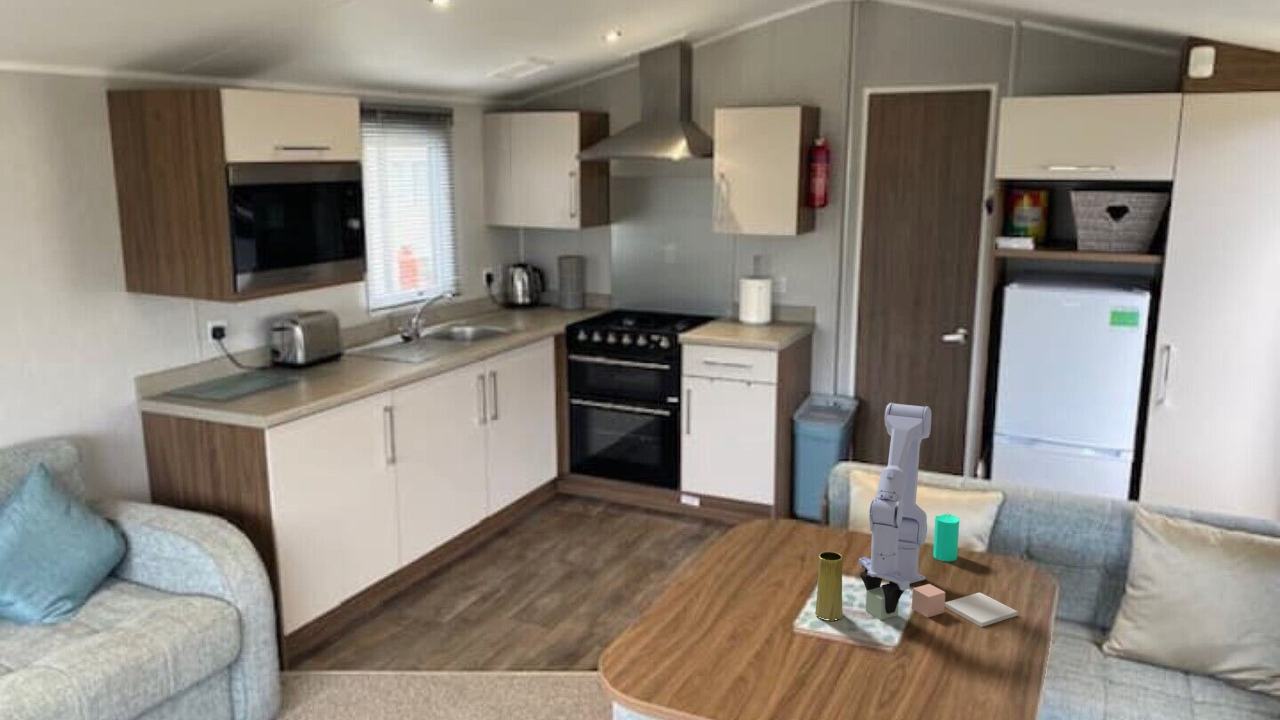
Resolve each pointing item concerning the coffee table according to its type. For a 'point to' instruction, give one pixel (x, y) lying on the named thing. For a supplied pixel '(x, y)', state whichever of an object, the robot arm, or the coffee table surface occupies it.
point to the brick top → (928, 600)
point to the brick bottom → (878, 604)
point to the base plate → (980, 609)
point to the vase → (829, 586)
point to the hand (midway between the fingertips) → (882, 607)
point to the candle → (946, 537)
